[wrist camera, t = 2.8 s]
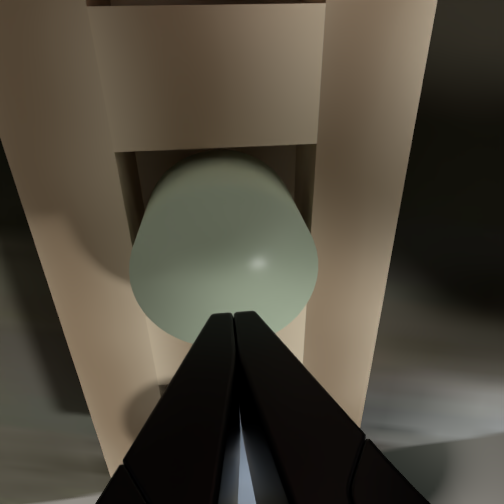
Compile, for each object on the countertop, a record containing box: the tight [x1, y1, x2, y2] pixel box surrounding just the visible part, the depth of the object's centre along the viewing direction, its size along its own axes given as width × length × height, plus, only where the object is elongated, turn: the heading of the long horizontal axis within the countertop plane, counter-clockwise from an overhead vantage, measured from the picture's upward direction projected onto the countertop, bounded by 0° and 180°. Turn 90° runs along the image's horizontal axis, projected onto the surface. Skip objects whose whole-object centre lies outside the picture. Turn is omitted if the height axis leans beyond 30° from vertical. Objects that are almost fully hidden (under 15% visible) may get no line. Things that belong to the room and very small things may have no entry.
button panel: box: [0, 0, 437, 478], centre depth 12 cm, size 10×23×4 cm, turn 1°
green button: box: [129, 150, 318, 344], centre depth 11 cm, size 4×4×3 cm
